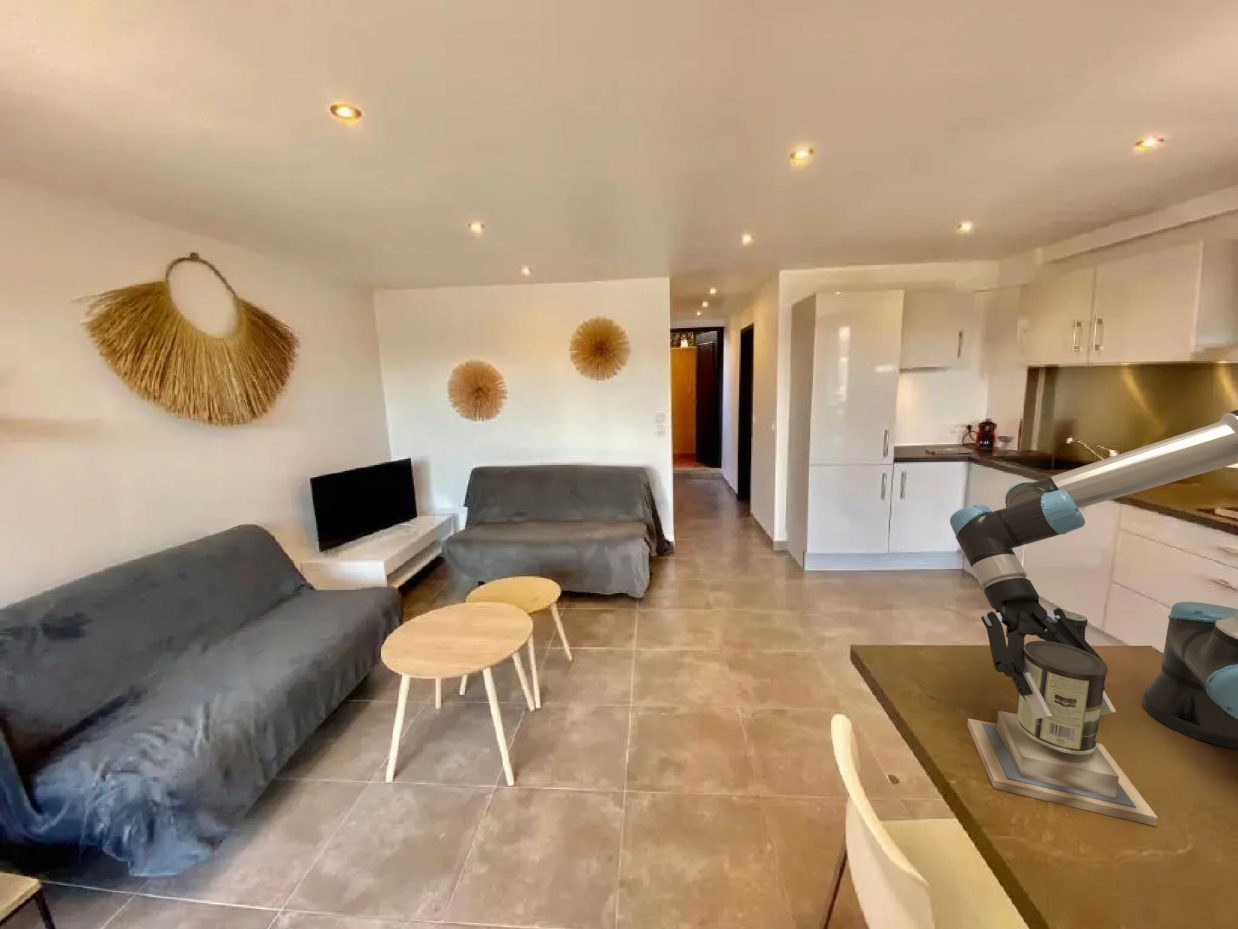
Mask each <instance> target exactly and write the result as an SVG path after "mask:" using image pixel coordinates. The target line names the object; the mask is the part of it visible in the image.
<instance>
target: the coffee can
mask: <svg viewBox="0 0 1238 929" xmlns="http://www.w3.org/2000/svg"><path fill="white" fill-rule="evenodd" d="M1100 658H1101V657H1100ZM1100 658H1098V657H1096V656H1095V655H1093V654H1091V653H1089V652H1087V651H1084V650H1082V649H1079V648H1076V647H1073V646H1070V645H1066V644H1062V643H1057V642H1051V641H1045V640H1032V641H1029V642H1028V641H1027V642H1026V643H1024V672H1023V674H1024V673H1030V674H1031V676H1032V678H1033V680H1034V682H1035V683H1036V685H1037V687H1038V689H1039V691H1040V693H1041V695H1042V697H1043V699H1044V701H1045V703H1046V705H1047V707H1048V709H1049V711H1050V713H1051V715H1052V716H1049V717H1045V718H1040V719H1035V717H1034V715H1033V713H1032V711H1031V709H1030V706H1029V704H1028V702H1027V700H1026V698H1025V696H1021V694H1020V693H1019V695H1018V696H1019V697H1018V706H1017V707H1018V708H1017V713H1016V714H1017V718H1016V722H1017V725H1018V726H1019V728H1020V729H1021V730H1022V731H1023V732H1024V733H1025V734H1026V735H1027V736H1029V737H1030V738H1031V739H1033V740H1035V741H1036V742H1038V743H1040V744H1042V745H1044V746H1046V747H1049V748H1052V749H1054V750H1057V751H1061V752H1064V753H1069V754H1076V755H1086V754H1090V753H1092V752H1094V751H1095V750H1096V743H1097V740H1098V732H1099V724H1100V723H1099V722H1100V717H1101V716H1100V711H1101V704H1102V697H1103V691H1105V690H1104V686H1105V681H1106V675H1107V673H1108V671H1109V668H1108V665H1107V664H1106V662H1105V661H1102V660H1103V659H1102V658H1101V659H1102V660H1101V659H1100Z"/></svg>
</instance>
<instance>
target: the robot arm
mask: <svg viewBox="0 0 1238 929" xmlns="http://www.w3.org/2000/svg"><path fill="white" fill-rule="evenodd" d="M1237 464H1238V409H1235V410H1232V411H1229V412H1226V413H1223V415H1222V416H1221V418H1220V421H1218V422H1215V423H1211V424H1209V425H1206V426H1203V427H1200V428H1197V429H1193V430H1190V431H1188V432H1184V433H1181V434H1177V435H1175V436H1172V437H1169V438H1166V439H1162V440H1159V441H1157V442H1153V443H1150V444H1148V445H1144V446H1141V447H1138V448H1135V449H1132V450H1129V451H1125V452H1122V453H1120V454H1117V455H1113V456H1110V457H1107V458H1105V459H1100V460H1098V461H1095V462H1092V463H1089V464H1086V465H1083V466H1080V467H1076V468H1074V469H1071V470H1068V471H1065V472H1064V471H1063V472H1061V473H1058V474H1055V475H1052V476H1049V477H1047V478H1043V479H1040V480H1037V481H1034V482H1033V481H1023V482H1022V481H1021V482H1018V483H1015V484H1014V485H1012V486H1010V487H1009V488H1008V490H1007V491H1006V494H1005V495H1004V496H1005V500H1004V502H1005V503H1004V504H1005V507H1004V508H1000V509H998V510H994V511H992V510H991V509H990V508H989V507H988V506H986V505H984V504H974V505H972V506H970V505H968V506H966V507H962V508H961V509H958V510H956V511H955V512H954V513H953V514H952V515H951V516H950V518H949V524H950V526H951V528H952V531H953V533H954V535H955V537H954V538H955V539H956V541H957V542H958V544H959V546H960V548H961V550H962V552H963V554H964V556H965V558H966V559H967V561H968V563H969V565H970V568H971V570H972V571H973V573H974V576H975V577H976V579H977V581H978V584H979V585H980V587H981V588H984V589H983V593H984V596H985V597H986V600H987V601H988V603H989V605H990V607H991V608H992V609H994V610H995V612H994V611H989V612H988V613H985V614H984V615H982V616H981V617H980V618H981V621H982V623H983V624H984V627H985V628H986V631H987V636H988V637H987V638H988V642H989V646H990V652H991V657H992V662H993V666H994V670H995V671H996V672H997V673H1004V675H1005V677H1007V678H1010V677H1011V679H1012V681H1013V684H1014V686H1015V687H1016V689H1017V692H1018V693H1019V695H1020V694H1021V696H1025V698H1026V700H1027V702H1028V704H1029V706H1030V709H1031V711H1032V713H1033V715H1034V717H1035V719H1040V718H1045V717H1049V716H1052V715H1051V713H1050V711H1049V709H1048V707H1047V705H1046V703H1045V701H1044V699H1043V697H1042V695H1041V693H1040V691H1039V689H1038V687H1037V685H1036V683H1035V682H1034V680H1033V678H1032V676H1031V674H1030V673H1024V674H1023V672H1024V645H1025V637H1026V636H1027V635H1028V636H1036V637H1038V639H1040V640H1043V641H1051V642H1057V643H1062V644H1066V645H1070V646H1073V647H1076V648H1079V649H1082V650H1084V651H1087V652H1089V653H1091V654H1093V655H1095V656H1096V657H1098V658H1100V659H1101V660H1102V661H1103V659H1102V658H1101V657H1100V655H1099V654H1098V653H1097V652H1096V651H1095V649H1094V648H1093V647H1092V646H1091V645H1090V644H1089V643H1088V642H1087V640H1086V638H1085V639H1084V638H1083V637H1082V636H1081V635H1080V634H1079V633H1078V631H1077V630H1076V629H1075V628H1074V627H1073V626H1072V625H1071V623H1070V622H1069V621H1068V620H1067V618H1066V616H1065V614H1064V612H1065V611H1063V609H1062V608H1059V607H1058V608H1057V607H1056V608H1055V609H1045V608H1044V607H1043V606H1042V605H1041V604H1040V602H1039V601H1040V596H1039V593H1038V592H1037V590H1036V588H1035V587H1034V585H1033V582H1032V581H1031V580H1030V579H1028V578H1027V577H1028V574H1027V572H1026V570H1025V568H1024V566H1023V565H1022V564H1021V562H1020V560H1019V559H1018V557H1017V555H1016V553H1015V552H1014V550H1013V549H1014V548H1015V549H1016V548H1019V547H1022V546H1025V545H1026V546H1027V545H1029V544H1033V543H1035V542H1040V541H1042V540H1046V539H1051V538H1054V537H1057V536H1060V535H1066V534H1068V533H1070V532H1072V531H1075V530H1078V529H1080V528H1083V527H1084V526H1085V524H1086V520H1085V517H1084V515H1083V513H1082V512H1081V511H1080V509H1081V508H1083V509H1084V508H1086V507H1089V506H1092V505H1097V504H1099V503H1104V502H1107V501H1110V500H1114V499H1116V498H1117V499H1118V498H1121V497H1124V496H1128V495H1131V494H1134V493H1135V494H1136V493H1139V492H1142V491H1146V490H1149V489H1152V488H1156V487H1160V486H1163V485H1166V484H1170V483H1173V482H1177V481H1179V480H1184V479H1187V478H1191V477H1193V476H1198V475H1201V474H1206V473H1208V472H1212V471H1215V470H1218V469H1223V468H1226V467H1230V466H1233V465H1237ZM1167 618H1168V625H1167V629H1166V630H1167V631H1166V636H1165V643H1164V649H1163V654H1162V655H1163V656H1162V661H1161V667H1160V671H1159V673H1157V675H1156V676H1155V677H1154V678H1153V680H1152V681H1151V683H1150V684H1149V685H1148V686H1147V688H1145V690H1144V692H1143V695H1142V702H1141V705H1142V707H1143V709H1144V710H1145V711H1146V712H1147V713H1148V714H1149V715H1150V716H1152V717H1153V718H1154V719H1155V720H1157V721H1158V722H1160V723H1161V724H1163V725H1165V726H1166V727H1169V728H1170V729H1173V730H1175V731H1177V732H1179V733H1181V734H1184V735H1186V736H1188V737H1191V738H1194V739H1197V740H1199V741H1203V742H1206V743H1209V744H1212V745H1217V746H1220V747H1225V748H1229V749H1238V608H1234V607H1233V608H1232V607H1230V606H1223V605H1218V604H1213V603H1207V602H1197V601H1181V602H1175V603H1174V604H1173V605H1172V607H1171V609H1170V614H1169V615H1168V616H1167ZM1003 625H1004V626H1005V627H1006V628H1005V631H1006V632H1004V627H1003ZM1006 638H1007V640H1006ZM1103 662H1104V661H1103ZM1105 690H1106V687H1105V685H1104V691H1103V697H1102V704H1101V711H1100V715H1101V716H1102V715H1103V716H1104V715H1107V714H1112V713H1116V712H1117V710H1116V709H1115V706H1114V705H1113V704H1112V701H1111V700H1110V698H1109V697H1108V695H1107V693H1106V692H1105Z"/></svg>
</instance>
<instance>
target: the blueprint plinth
mask: <svg viewBox="0 0 1238 929" xmlns="http://www.w3.org/2000/svg"><path fill="white" fill-rule="evenodd" d="M1017 714H1018V713H1012V712H1008V711H1003V710H998V713H997V723H994V722H988V721H985V720H979V719H973V718H967V728H968V730H969V733H970V735H971V737H972V740H973V742H974V745H975V746H976V749H977V752H978V754H979V756H980V760H981V762H982V763H983V766H984V768H985V771H986V774H987V776H988V779H989V781H990V783H991V785H992V786H991V787H992V788H993V789H995V790H997V791H1004V792H1008V793H1012V794H1015V795H1016V794H1017V795H1019V796H1025V797H1027V798H1028V797H1029V798H1033V799H1038V800H1042V801H1047V802H1051V803H1055V804H1060V805H1063V806H1068V807H1072V808H1077V809H1081V810H1084V811H1085V810H1086V811H1090V812H1092V813H1093V812H1094V813H1098V814H1102V815H1107V816H1110V817H1115V818H1119V819H1123V820H1128V821H1131V822H1137V823H1141V824H1146V825H1149V826H1153V827H1157V825H1158V824H1157V823H1158V818H1159V817H1158V816H1157V815H1156V813H1155V812H1154V811H1153V809H1152V808H1151V807H1150V805H1149V804H1148V802H1147V801H1146V800H1145V799H1144V797H1142V795H1141V794H1140V792H1139V791H1138V789H1137V788H1136V787H1135V786H1134V784H1133V783H1132V782H1131V781H1130V779H1129V777H1128V776H1127V774H1126V773H1125V772H1124V771H1123V770H1122V769H1121V767H1120V765H1119V764H1118V763H1117V762H1116V761H1115V759H1114V758H1113V757H1112V756H1111V754H1110V753H1109V752H1108V750H1107V749H1106V747H1105V746H1104V745H1103V744H1102V743H1098V742H1096V750H1095V751H1094V752H1092V753H1090V754H1086V755H1076V754H1069V753H1064V752H1061V751H1057V750H1054V749H1052V748H1049V747H1046V746H1044V745H1042V744H1040V743H1038V742H1036V741H1035V740H1033V739H1031V738H1030V737H1029V736H1027V735H1026V734H1025V733H1024V732H1023V731H1022V730H1021V729H1020V728H1019V726H1018V725H1017V722H1016V718H1017Z"/></svg>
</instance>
